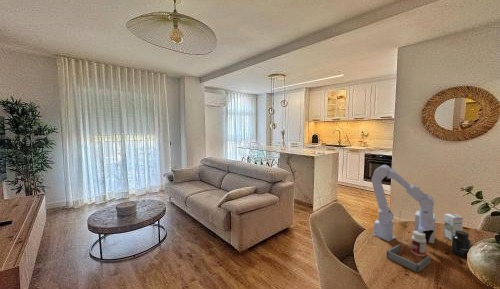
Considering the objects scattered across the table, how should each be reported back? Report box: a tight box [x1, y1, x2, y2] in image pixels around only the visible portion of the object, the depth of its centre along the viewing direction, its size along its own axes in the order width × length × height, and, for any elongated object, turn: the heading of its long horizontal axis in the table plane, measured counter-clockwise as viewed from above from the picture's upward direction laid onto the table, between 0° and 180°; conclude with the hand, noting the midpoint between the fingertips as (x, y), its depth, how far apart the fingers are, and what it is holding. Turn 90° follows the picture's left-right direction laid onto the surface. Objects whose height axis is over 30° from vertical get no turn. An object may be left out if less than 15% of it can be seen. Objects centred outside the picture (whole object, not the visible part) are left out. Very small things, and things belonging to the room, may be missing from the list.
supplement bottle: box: [451, 230, 472, 259], centre depth 109 cm, size 7×7×12 cm
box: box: [386, 243, 431, 274], centre depth 106 cm, size 14×13×4 cm
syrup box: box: [443, 212, 464, 241], centre depth 125 cm, size 6×6×14 cm
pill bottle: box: [410, 230, 427, 257], centre depth 111 cm, size 6×6×11 cm
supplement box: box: [414, 210, 436, 244], centre depth 126 cm, size 9×9×15 cm
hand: (425, 242), depth 115 cm, fingers closed
